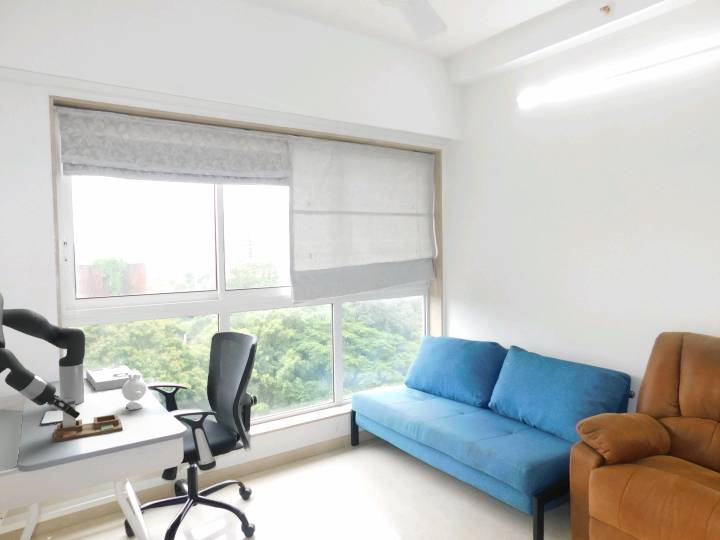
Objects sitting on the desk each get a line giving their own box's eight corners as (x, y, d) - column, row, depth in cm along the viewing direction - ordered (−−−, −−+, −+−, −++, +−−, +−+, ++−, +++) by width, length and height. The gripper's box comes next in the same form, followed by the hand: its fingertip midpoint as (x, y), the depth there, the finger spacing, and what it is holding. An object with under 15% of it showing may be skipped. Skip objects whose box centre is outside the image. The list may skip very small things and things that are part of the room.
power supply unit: (124, 373, 273) (124, 364, 273) (138, 386, 247) (138, 376, 246) (86, 378, 262) (86, 369, 262) (96, 392, 235) (96, 382, 235)
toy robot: (118, 405, 213) (117, 371, 213) (141, 401, 219) (140, 368, 219) (127, 413, 202) (126, 378, 201) (151, 409, 208) (150, 374, 207)
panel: (54, 431, 182) (54, 423, 182) (119, 420, 193) (119, 413, 193) (53, 442, 171) (53, 433, 171) (122, 430, 183) (122, 422, 183)
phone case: (66, 424, 192) (69, 411, 206) (66, 420, 192) (69, 408, 206) (39, 428, 188) (45, 415, 202) (39, 424, 188) (44, 411, 202)
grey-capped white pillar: (63, 426, 181) (62, 399, 181) (75, 424, 184) (74, 398, 183) (63, 429, 178) (62, 402, 178) (75, 427, 180) (75, 400, 180)
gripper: (21, 395, 175) (59, 419, 185) (35, 402, 166) (75, 427, 176) (38, 377, 179) (74, 402, 189) (52, 383, 170) (90, 409, 180)
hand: (74, 414), depth 182 cm, fingers closed on grey-capped white pillar, 5 cm apart
